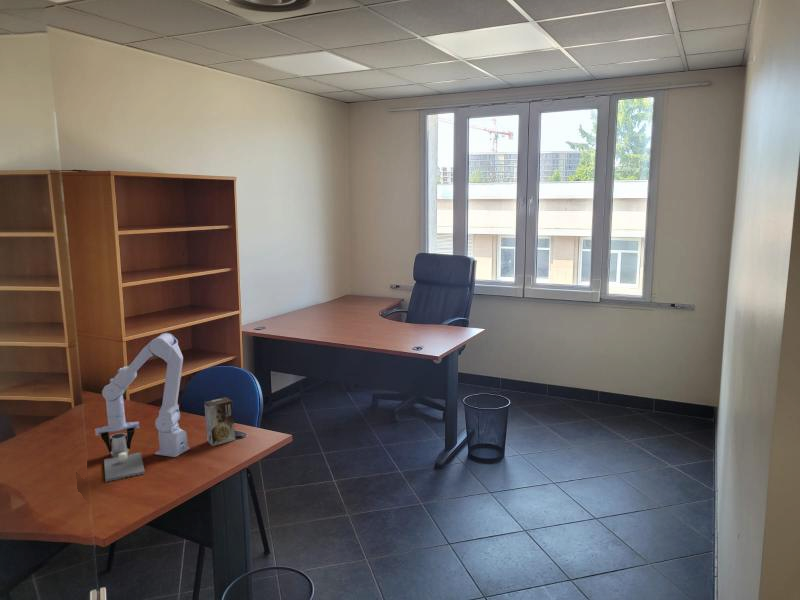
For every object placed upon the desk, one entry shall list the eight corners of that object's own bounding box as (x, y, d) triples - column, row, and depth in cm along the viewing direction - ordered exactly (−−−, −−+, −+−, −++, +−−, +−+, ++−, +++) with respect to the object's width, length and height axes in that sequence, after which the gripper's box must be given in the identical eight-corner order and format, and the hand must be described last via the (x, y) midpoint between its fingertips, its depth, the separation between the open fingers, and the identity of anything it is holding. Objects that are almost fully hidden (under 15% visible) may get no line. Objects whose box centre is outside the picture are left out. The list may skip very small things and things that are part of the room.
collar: (131, 451, 217) (130, 433, 215) (120, 457, 211) (118, 439, 210) (119, 450, 218) (118, 432, 217) (108, 456, 213) (106, 437, 212)
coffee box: (229, 435, 230) (226, 396, 228) (235, 440, 225) (232, 400, 223) (206, 441, 225) (203, 401, 222) (212, 446, 220) (209, 405, 217)
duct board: (140, 454, 214) (139, 444, 213) (145, 473, 198) (143, 462, 197) (104, 462, 208) (103, 451, 207) (105, 482, 192) (104, 470, 192)
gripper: (136, 407, 219) (140, 442, 221) (93, 414, 213) (97, 450, 215) (138, 413, 213) (141, 448, 215) (93, 420, 206) (97, 456, 209)
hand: (119, 449), depth 215 cm, fingers closed on collar, 6 cm apart
